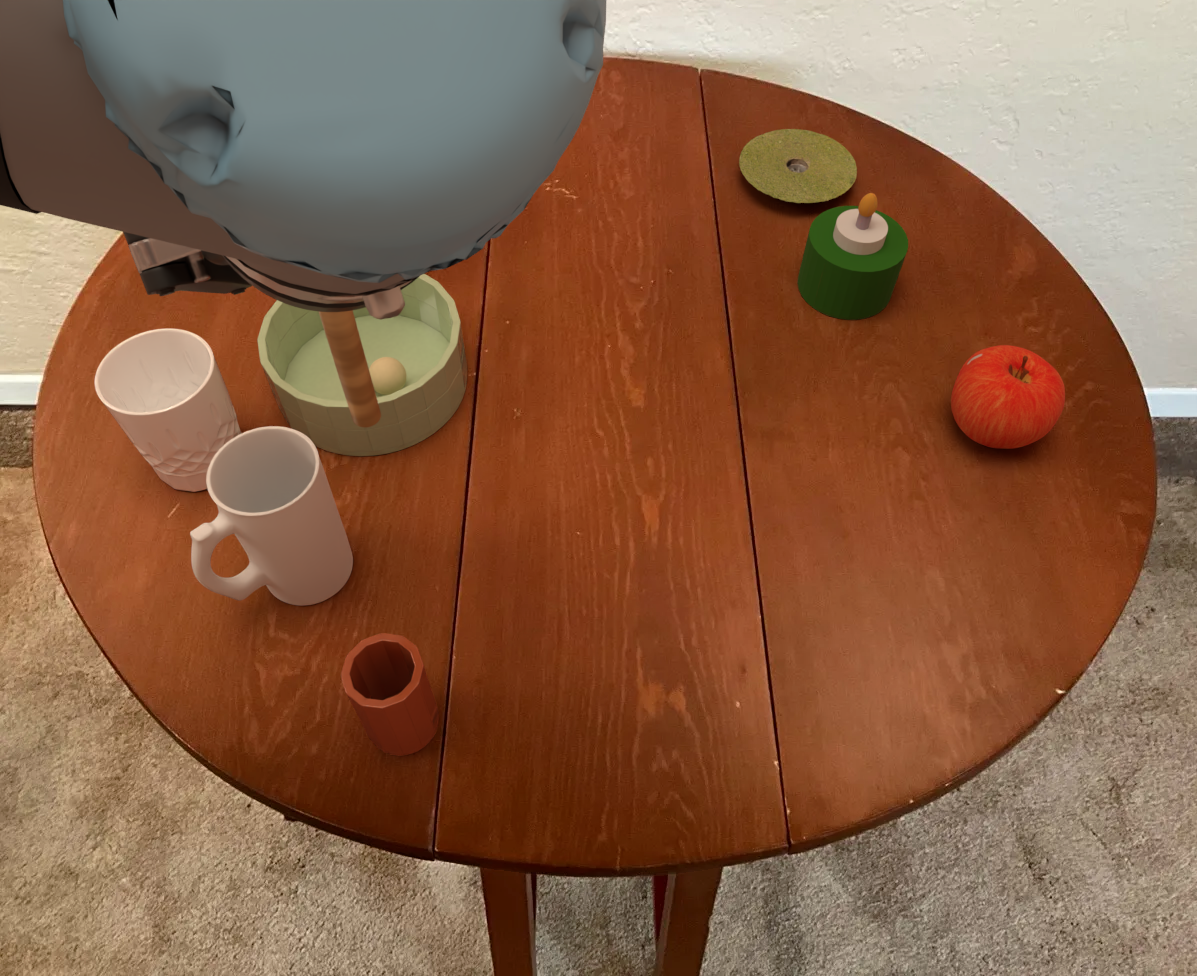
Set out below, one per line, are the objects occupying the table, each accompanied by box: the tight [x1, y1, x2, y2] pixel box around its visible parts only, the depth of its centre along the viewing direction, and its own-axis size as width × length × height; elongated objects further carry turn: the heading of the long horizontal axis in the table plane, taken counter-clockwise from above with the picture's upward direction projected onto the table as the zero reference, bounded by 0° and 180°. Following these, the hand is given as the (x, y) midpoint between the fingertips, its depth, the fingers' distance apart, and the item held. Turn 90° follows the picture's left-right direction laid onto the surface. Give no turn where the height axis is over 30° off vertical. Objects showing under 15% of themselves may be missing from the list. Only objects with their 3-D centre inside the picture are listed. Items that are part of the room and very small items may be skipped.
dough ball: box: [369, 357, 406, 395], centre depth 76 cm, size 3×3×3 cm
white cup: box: [94, 327, 243, 493], centre depth 70 cm, size 8×8×10 cm
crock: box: [340, 632, 440, 757], centre depth 59 cm, size 5×5×8 cm
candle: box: [796, 192, 909, 321], centre depth 82 cm, size 8×8×10 cm
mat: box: [738, 128, 858, 204], centre depth 93 cm, size 11×11×2 cm
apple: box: [950, 344, 1066, 450], centre depth 73 cm, size 8×8×8 cm
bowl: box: [256, 273, 468, 457], centre depth 76 cm, size 15×15×6 cm
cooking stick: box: [318, 310, 381, 427], centre depth 47 cm, size 2×2×18 cm
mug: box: [189, 425, 354, 607], centre depth 63 cm, size 10×7×12 cm, turn 138°
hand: (313, 255), depth 49 cm, fingers closed on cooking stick, 1 cm apart
